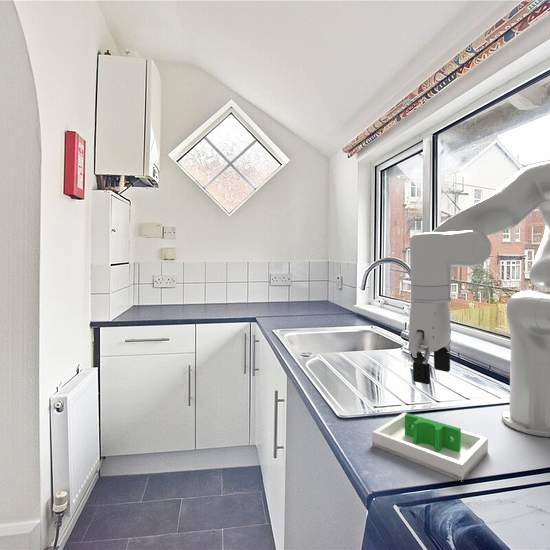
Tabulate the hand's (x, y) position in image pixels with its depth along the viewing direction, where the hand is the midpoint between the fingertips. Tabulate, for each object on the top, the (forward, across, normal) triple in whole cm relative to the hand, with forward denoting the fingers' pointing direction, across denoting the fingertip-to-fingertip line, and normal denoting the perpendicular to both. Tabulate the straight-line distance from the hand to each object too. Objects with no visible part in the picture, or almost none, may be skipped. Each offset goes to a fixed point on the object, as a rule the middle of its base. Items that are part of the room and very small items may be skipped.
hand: (432, 376), depth 77 cm
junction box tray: (+15, +1, 0) cm, 15 cm away
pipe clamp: (+15, +1, -1) cm, 15 cm away
